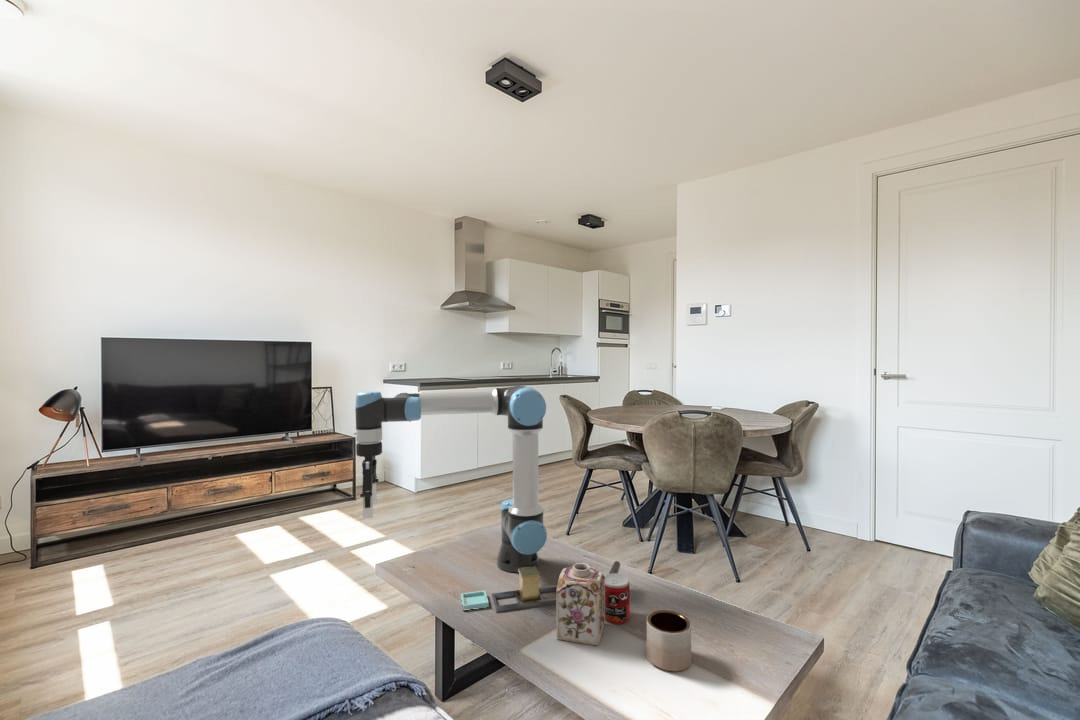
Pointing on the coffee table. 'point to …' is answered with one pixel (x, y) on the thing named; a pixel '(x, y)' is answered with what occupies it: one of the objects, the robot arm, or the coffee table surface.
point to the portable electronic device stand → (615, 567)
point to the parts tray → (475, 600)
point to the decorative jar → (580, 604)
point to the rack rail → (524, 604)
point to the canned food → (617, 598)
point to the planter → (669, 640)
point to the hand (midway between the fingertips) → (370, 510)
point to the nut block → (528, 584)
